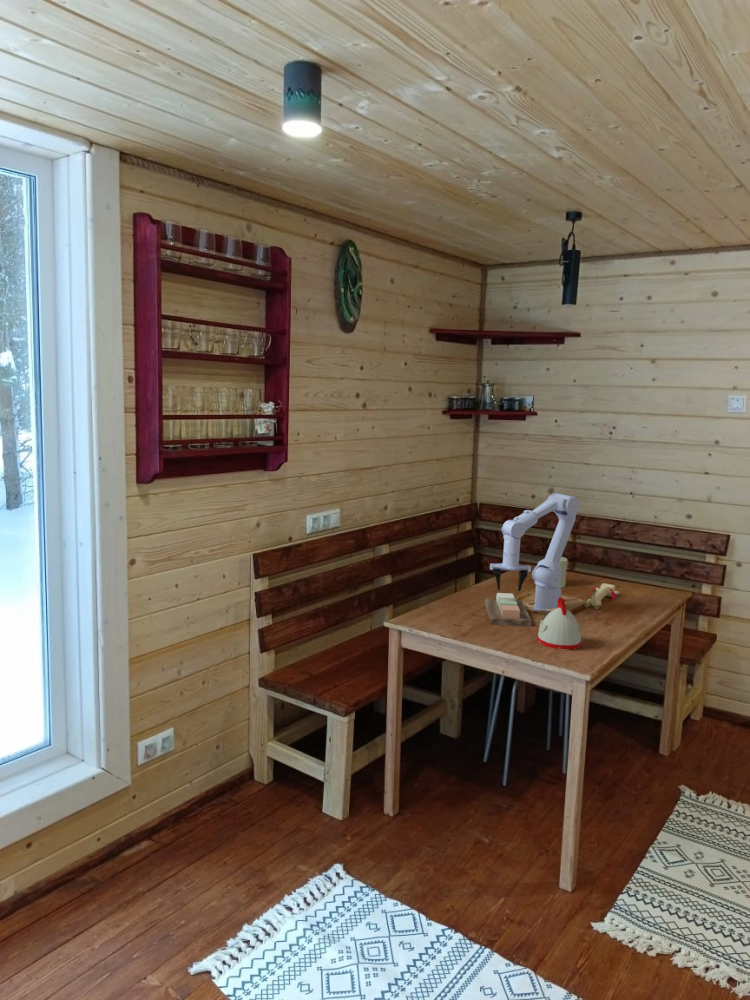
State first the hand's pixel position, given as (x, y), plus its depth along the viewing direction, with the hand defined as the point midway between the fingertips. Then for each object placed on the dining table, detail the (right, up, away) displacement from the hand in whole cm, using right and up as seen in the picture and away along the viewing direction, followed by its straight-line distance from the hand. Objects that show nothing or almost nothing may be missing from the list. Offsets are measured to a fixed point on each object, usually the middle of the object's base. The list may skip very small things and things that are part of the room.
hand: (508, 589), depth 275 cm
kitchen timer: (+12, -15, -26) cm, 32 cm away
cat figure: (+41, -8, +24) cm, 48 cm away
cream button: (0, -7, +9) cm, 11 cm away
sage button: (0, -8, +1) cm, 8 cm away
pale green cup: (+27, -3, +45) cm, 52 cm away
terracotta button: (-1, -9, -6) cm, 11 cm away
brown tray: (0, -9, +2) cm, 9 cm away
